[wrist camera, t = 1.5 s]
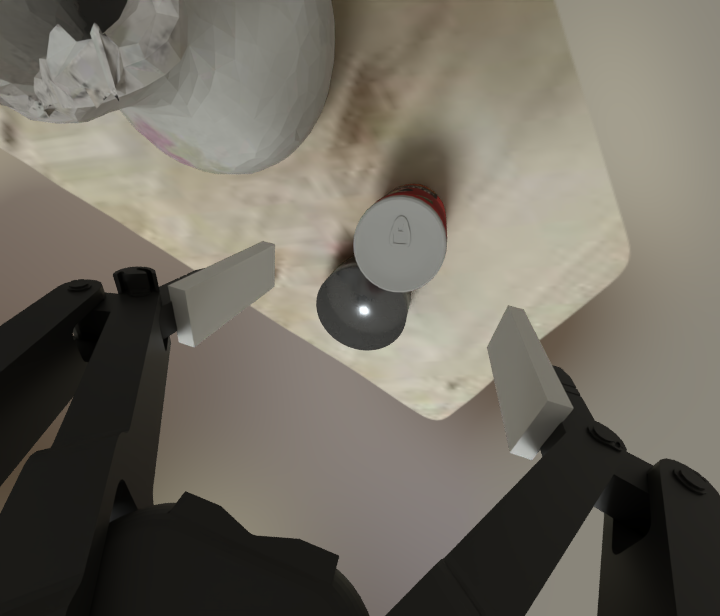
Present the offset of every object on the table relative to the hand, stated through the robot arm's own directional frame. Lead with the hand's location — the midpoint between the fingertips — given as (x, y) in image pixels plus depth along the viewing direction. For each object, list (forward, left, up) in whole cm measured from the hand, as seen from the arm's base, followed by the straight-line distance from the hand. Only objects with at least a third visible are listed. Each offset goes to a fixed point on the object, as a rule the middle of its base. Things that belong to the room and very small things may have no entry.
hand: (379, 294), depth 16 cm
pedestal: (+10, -3, -19) cm, 22 cm away
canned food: (0, 0, -20) cm, 20 cm away
